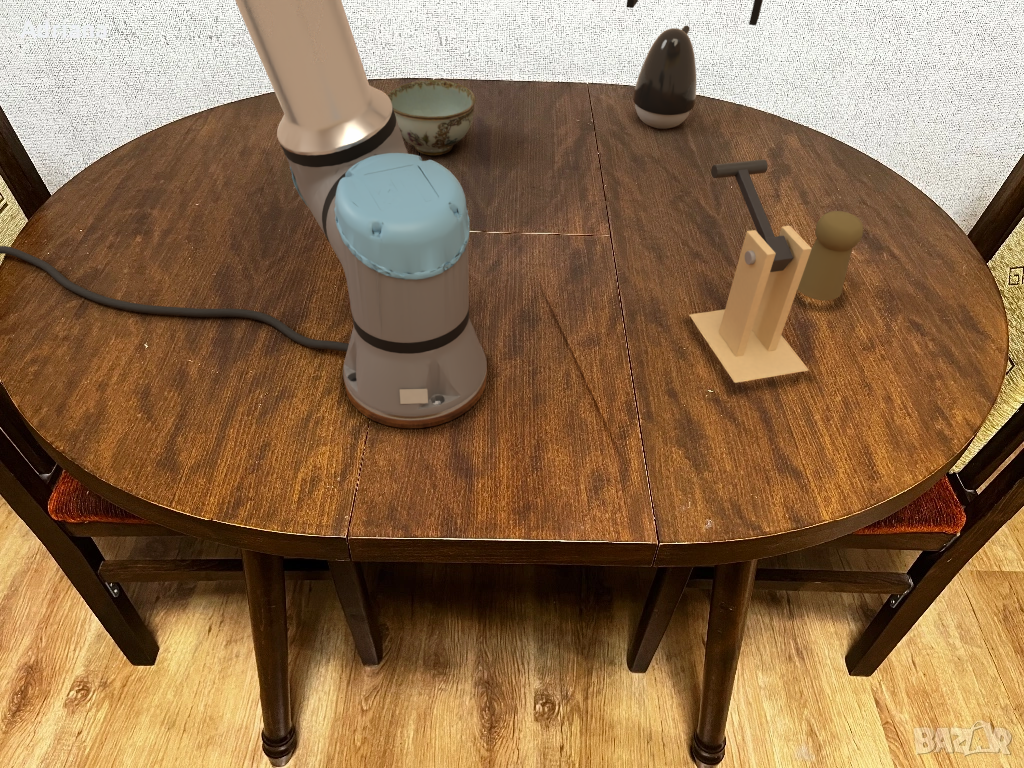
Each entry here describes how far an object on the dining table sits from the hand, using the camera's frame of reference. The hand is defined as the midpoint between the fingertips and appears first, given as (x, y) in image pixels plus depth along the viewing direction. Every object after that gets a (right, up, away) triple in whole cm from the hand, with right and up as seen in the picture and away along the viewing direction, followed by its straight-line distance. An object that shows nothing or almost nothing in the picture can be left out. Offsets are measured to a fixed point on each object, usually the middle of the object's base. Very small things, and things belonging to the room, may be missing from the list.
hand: (691, 12), depth 85 cm
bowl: (-33, -4, +37) cm, 49 cm away
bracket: (+7, -37, +3) cm, 38 cm away
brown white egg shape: (+5, +3, +45) cm, 46 cm away
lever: (+6, -24, -3) cm, 25 cm away
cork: (+18, -30, +11) cm, 37 cm away
